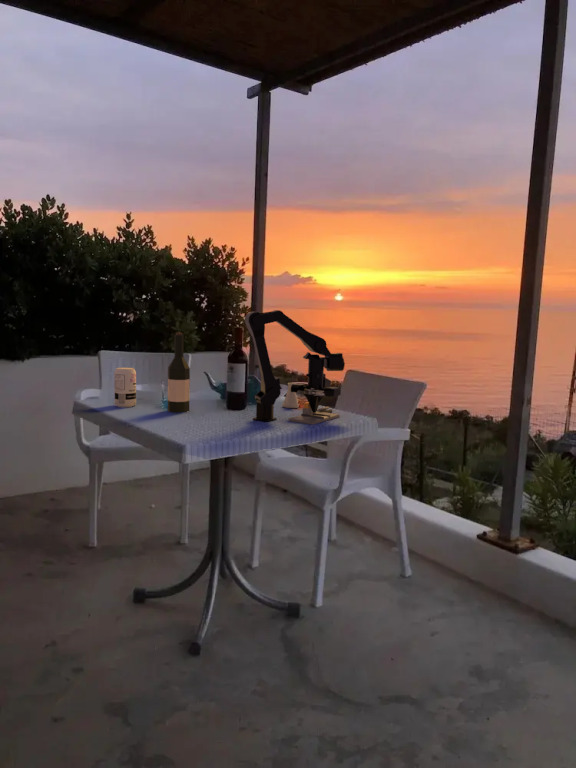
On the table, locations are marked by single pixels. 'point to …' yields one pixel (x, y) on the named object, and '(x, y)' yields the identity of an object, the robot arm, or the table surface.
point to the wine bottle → (178, 379)
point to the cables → (325, 410)
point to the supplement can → (125, 387)
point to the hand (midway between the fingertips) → (314, 412)
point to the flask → (290, 399)
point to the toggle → (307, 409)
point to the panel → (314, 417)
